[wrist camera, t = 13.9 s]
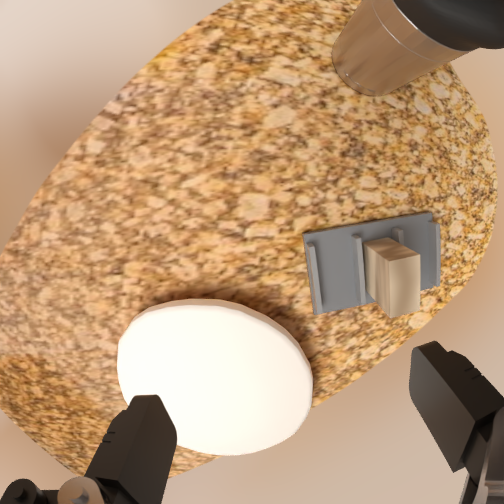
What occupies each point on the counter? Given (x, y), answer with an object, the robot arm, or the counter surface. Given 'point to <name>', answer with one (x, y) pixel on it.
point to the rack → (351, 258)
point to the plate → (217, 374)
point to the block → (392, 276)
